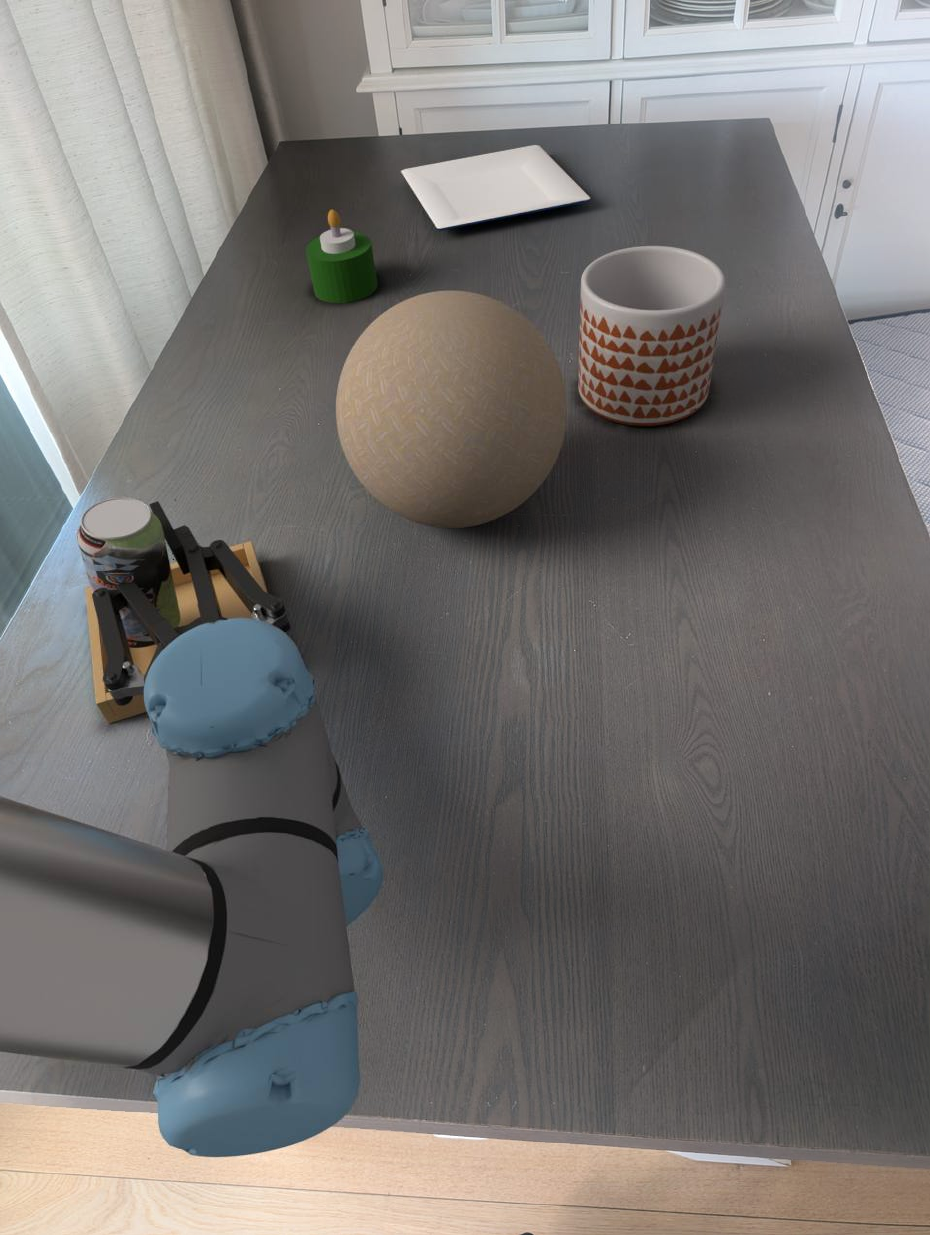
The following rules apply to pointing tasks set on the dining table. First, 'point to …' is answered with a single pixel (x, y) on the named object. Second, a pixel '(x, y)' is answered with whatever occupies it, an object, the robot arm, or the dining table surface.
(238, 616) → the wooden serving tray
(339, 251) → the candle
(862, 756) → the dining table surface
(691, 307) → the planter
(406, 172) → the plate
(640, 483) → the dining table surface
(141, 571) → the beverage can
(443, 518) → the decorative sphere
